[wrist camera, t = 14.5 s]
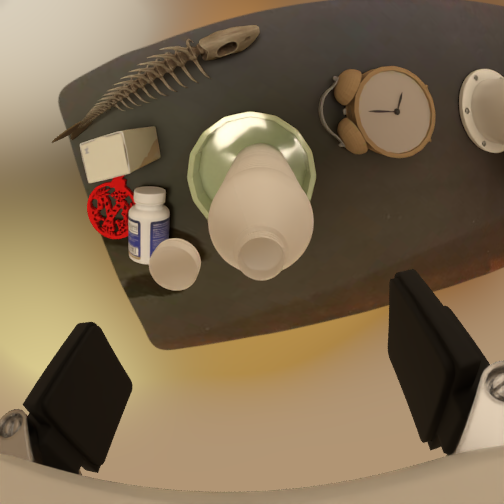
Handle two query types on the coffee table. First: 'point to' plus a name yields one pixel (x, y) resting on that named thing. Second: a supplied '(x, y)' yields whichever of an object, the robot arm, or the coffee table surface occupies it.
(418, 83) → the alarm clock
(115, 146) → the box
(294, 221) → the plastic bottle and lid
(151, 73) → the fish skeleton
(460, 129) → the coffee table surface
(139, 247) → the pill bottle
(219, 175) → the holder
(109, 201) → the ornament
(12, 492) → the robot arm
